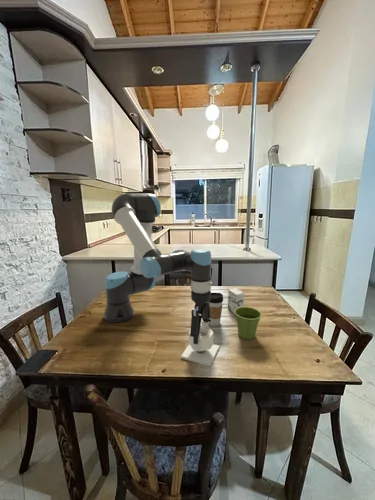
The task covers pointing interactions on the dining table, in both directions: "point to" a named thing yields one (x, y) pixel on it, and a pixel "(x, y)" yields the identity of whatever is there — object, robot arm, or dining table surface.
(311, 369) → the dining table surface
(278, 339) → the dining table surface
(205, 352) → the white square plate
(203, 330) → the collar
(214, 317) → the coffee cup
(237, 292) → the ink box
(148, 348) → the dining table surface
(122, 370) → the dining table surface
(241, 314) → the plant pot
